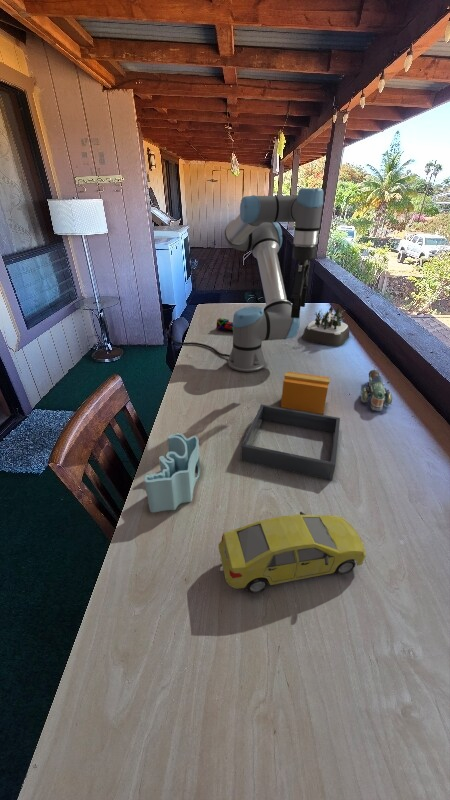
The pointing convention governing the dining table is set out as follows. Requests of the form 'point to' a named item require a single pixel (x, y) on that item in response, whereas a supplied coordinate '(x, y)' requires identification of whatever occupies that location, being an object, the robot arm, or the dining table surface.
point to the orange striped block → (304, 392)
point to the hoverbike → (376, 391)
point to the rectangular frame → (286, 459)
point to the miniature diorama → (327, 329)
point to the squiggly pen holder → (174, 474)
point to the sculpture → (224, 324)
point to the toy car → (289, 550)
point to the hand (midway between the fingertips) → (298, 311)
